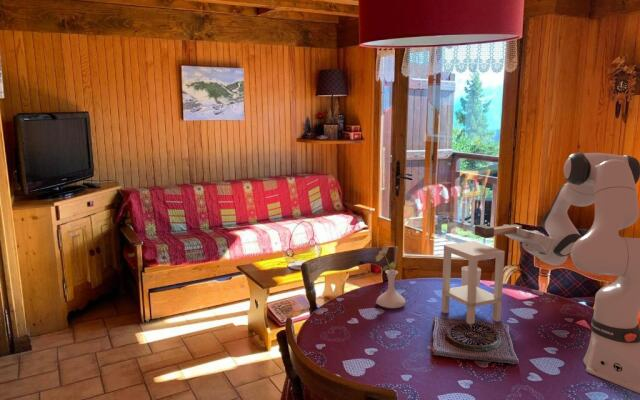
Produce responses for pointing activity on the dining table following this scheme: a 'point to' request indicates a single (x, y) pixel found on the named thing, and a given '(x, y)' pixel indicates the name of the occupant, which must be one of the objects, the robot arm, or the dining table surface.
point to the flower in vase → (390, 296)
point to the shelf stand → (473, 279)
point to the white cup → (465, 276)
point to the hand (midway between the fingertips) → (512, 227)
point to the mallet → (494, 230)
